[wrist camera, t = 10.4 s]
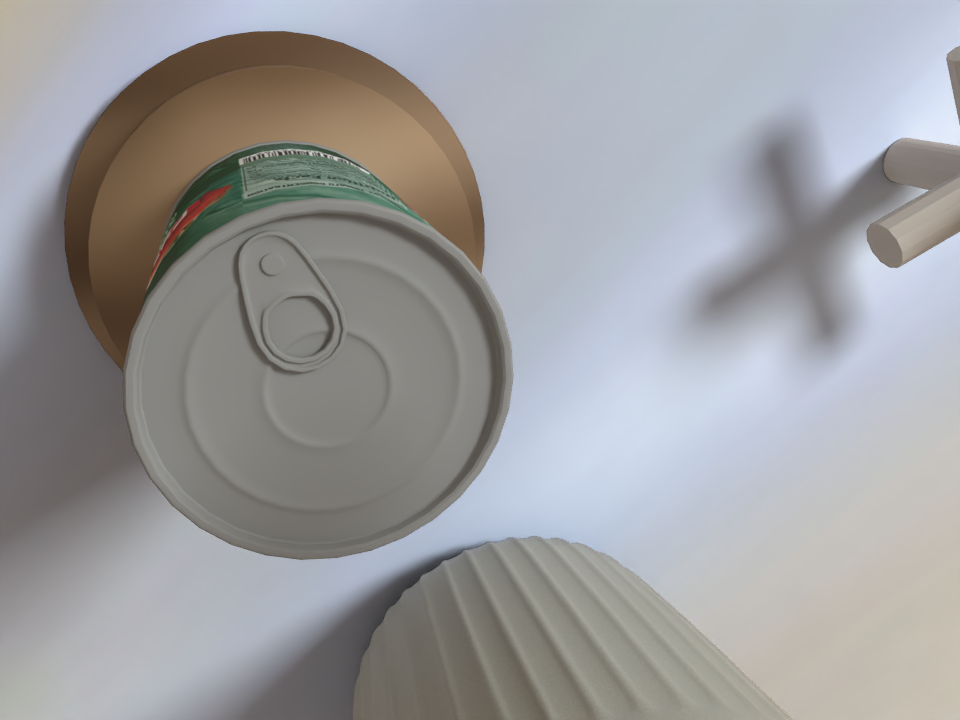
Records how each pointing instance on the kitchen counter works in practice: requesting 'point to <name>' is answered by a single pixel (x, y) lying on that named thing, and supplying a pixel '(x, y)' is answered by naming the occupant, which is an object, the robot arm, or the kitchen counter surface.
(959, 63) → the pipe connector
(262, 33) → the pedestal
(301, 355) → the canned tomato
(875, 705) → the kitchen counter surface
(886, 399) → the kitchen counter surface
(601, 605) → the canister
